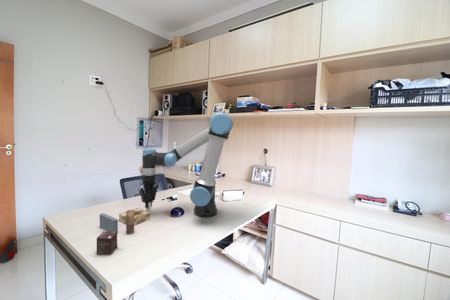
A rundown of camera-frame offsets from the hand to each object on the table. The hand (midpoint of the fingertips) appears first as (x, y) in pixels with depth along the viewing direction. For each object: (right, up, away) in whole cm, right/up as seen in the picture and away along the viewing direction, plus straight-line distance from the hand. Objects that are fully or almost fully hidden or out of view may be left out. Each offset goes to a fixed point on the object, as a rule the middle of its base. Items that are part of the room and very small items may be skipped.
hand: (148, 212), depth 126 cm
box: (-4, -6, -37) cm, 37 cm away
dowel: (-1, -4, -22) cm, 23 cm away
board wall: (-7, -3, -11) cm, 14 cm away
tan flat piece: (-5, -2, -8) cm, 10 cm away
